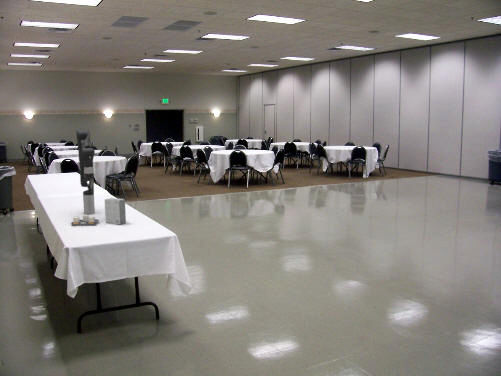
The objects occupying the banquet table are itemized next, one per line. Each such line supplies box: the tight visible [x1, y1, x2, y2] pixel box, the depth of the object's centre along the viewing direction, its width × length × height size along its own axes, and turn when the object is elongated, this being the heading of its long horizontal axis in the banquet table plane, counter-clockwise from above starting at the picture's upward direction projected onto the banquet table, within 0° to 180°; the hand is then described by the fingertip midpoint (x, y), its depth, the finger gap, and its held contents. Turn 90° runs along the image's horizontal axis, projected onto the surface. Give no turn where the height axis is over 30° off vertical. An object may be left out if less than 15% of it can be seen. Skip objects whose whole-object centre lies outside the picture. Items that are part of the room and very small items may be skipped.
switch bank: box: [70, 218, 100, 227], centre depth 398 cm, size 12×19×3 cm, turn 96°
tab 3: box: [88, 215, 96, 222], centre depth 394 cm, size 4×4×5 cm
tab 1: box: [72, 216, 81, 222], centre depth 393 cm, size 4×4×5 cm
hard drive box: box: [104, 197, 127, 225], centre depth 401 cm, size 16×8×20 cm, turn 65°
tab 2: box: [82, 214, 90, 222], centre depth 400 cm, size 4×4×5 cm
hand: (90, 193), depth 405 cm, fingers closed
